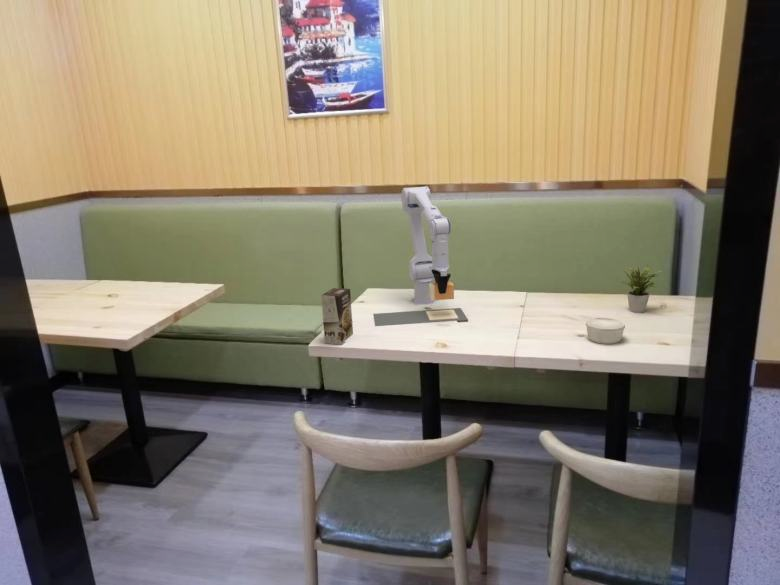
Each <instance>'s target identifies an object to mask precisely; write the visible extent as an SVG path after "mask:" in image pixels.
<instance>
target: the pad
mask: <svg viewBox="0 0 780 585" xmlns="http://www.w3.org/2000/svg"><path fill="white" fill-rule="evenodd" d="M426 313H427V315H428V318H429V320H430V321H431V320H445V319H458V316H457V315H456V313H455V311H454V310H440V311H426Z"/></svg>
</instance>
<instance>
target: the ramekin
mask: <svg viewBox="0 0 780 585" xmlns="http://www.w3.org/2000/svg"><path fill="white" fill-rule="evenodd" d="M585 326H586V334H587V338H588V339H589V341H592V342H594V343H596V344H601V345H602V344H603V345H612V344H613V345H614V344H617V343H619V342H620V341H621V340H622V338H623V335H624V330H625V328H626V323H625V322H624V321H622V320H620V319H616V318H611V317H593V318H590V319H587V320H586V321H585Z"/></svg>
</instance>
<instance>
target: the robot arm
mask: <svg viewBox="0 0 780 585" xmlns="http://www.w3.org/2000/svg"><path fill="white" fill-rule="evenodd" d="M400 197H401V204H402V209H403V212H405V213H407V215H408V216H407V217H408V220H409V228H410V235H411V241H412V245H413V246H412V247H413V253H414V256H413V257H412V258H410V260H409V262H408V275H409V278H410V280H411V281H413V287H414V288H413V291H414V298H412V302H413V304H414V306H428V305H436V304H437V303H436V300H431V299H430V297H429V283H437V285H438V290H439V293H440V294H445V293H446V289H447V284H448V282H449V280H450V278H451V273H448V271H449V269H450V262H449V260H450V256H449V255H450V254H449V253H450V252H449V247H450V246H449V235H450V234H451V232H452V224H451V220H450V219H449V217H447V216H443V213H442V212H441V211H440V210H439V207H437V206H436V205H433V204H432V201H431V190H430V188H429V186H428V185H424V186H416V187H415V186H414V187H413V186H412V187H403V188H402V190H401V196H400ZM422 216H423V218H424V220H425V221H426V223H427V225H428V232H429V239H430V241H431V255H430V254H428V251H427V250H428V248H427V243H426V237H425V231H424V230H425V229H424V224H423V218H422Z"/></svg>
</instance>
